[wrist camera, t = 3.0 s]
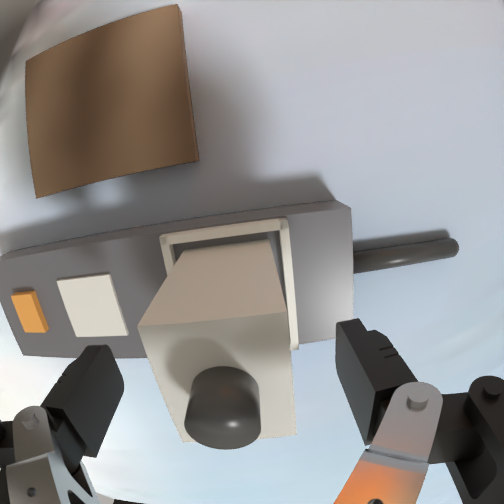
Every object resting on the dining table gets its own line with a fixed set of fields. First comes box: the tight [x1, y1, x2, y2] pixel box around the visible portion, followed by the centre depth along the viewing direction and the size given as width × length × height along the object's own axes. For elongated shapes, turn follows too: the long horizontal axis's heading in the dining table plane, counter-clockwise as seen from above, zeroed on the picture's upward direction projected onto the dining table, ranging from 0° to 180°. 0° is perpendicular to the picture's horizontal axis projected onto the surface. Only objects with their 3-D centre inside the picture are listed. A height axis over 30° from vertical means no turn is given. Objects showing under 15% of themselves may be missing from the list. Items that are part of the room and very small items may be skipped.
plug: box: [137, 239, 297, 449], centre depth 11 cm, size 4×5×8 cm
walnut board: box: [25, 4, 199, 199], centre depth 14 cm, size 10×9×1 cm
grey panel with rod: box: [0, 200, 459, 358], centre depth 16 cm, size 30×7×3 cm, turn 97°
